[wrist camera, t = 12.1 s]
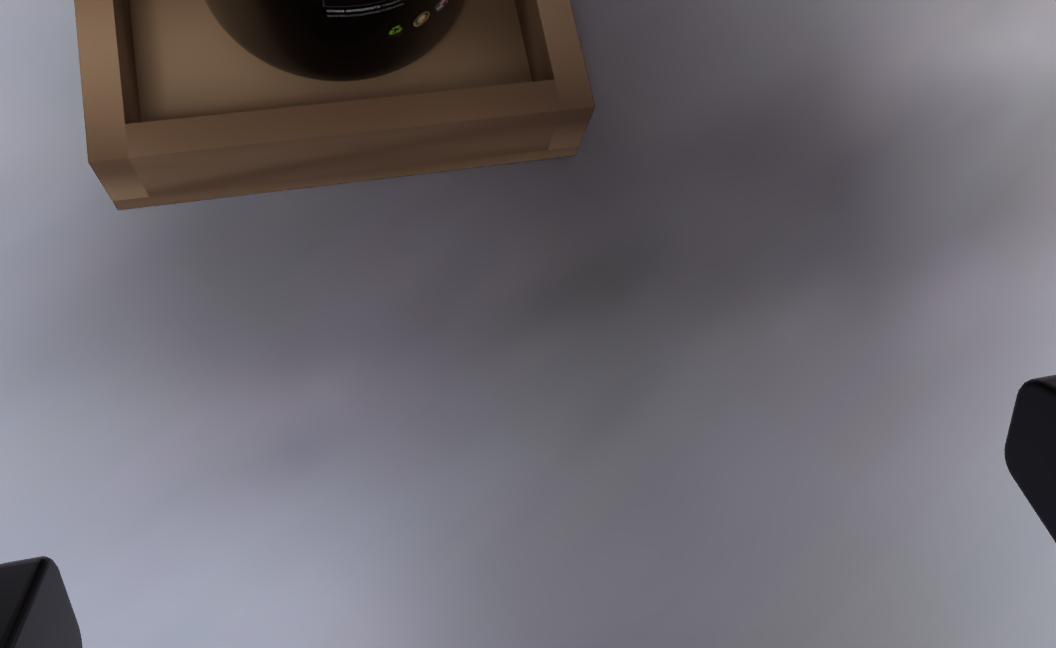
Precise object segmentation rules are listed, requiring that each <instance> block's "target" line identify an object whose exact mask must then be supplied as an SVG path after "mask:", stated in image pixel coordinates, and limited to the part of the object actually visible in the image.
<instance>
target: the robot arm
mask: <svg viewBox="0 0 1056 648" xmlns="http://www.w3.org/2000/svg"><path fill="white" fill-rule="evenodd" d="M1005 460H1006V464H1007V467H1008V469H1009V472H1010V473H1011V475H1012V477H1013V478H1014V480H1015V481H1016V483H1017V484H1018V486H1019V487H1020V489H1021V491H1022V492H1023V494H1024V495H1025V497H1026V498H1027V500H1028V501H1029V503H1030V504H1031V506H1032V507H1033V509H1034V510H1035V512H1036V513H1037V515H1038V516H1039V518H1040V519H1041V521H1042V522H1043V524H1044V525H1045V527H1046V528H1047V530H1048V532H1049V533H1050V535H1051V536H1052V538H1053V539H1054V541H1055V542H1056V375H1052V376H1047V377H1041V378H1036V379H1031V380H1029V381H1027V382H1025V383H1024V384H1023V385H1022V387H1021V388H1020V389H1019V391H1018V394H1017V398H1016V402H1015V406H1014V410H1013V414H1012V418H1011V423H1010V427H1009V431H1008V435H1007V439H1006V444H1005ZM0 648H82V639H81V633H80V629H79V626H78V623H77V620H76V617H75V614H74V611H73V608H72V606H71V603H70V600H69V597H68V594H67V591H66V588H65V586H64V583H63V580H62V577H61V574H60V571H59V569H58V567H57V565H56V564H55V562H54V561H53V560H52V559H50V558H48V557H45V556H41V557H36V558H30V559H25V560H19V561H13V562H8V563H3V564H0Z"/></svg>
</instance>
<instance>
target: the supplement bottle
mask: <svg viewBox="0 0 1056 648" xmlns="http://www.w3.org/2000/svg"><path fill="white" fill-rule="evenodd" d="M205 1H206V3H207V5H208V7H209V9H210V11H211V12H212V14H213V15H214V17H215V18H216V20H217V21H218V23H219V24H220V25H221V26H222V28H223V29H224V30H225V31H226V32H227V33H228V34H229V35H230V36H231V37H232V38H233V39H234V40H235V41H236V42H237V43H238V44H239V45H240V46H241V47H242V48H244V49H245V50H246V51H247V52H249V53H250V54H252V55H253V56H255V57H256V58H258V59H259V60H261V61H263V62H265V63H267V64H269V65H270V66H273V67H275V68H277V69H279V70H282V71H284V72H287V73H290V74H293V75H296V76H301V77H305V78H309V79H315V80H321V81H333V82H349V81H359V80H366V79H371V78H376V77H379V76H383V75H386V74H389V73H392V72H394V71H397V70H400V69H402V68H404V67H406V66H408V65H410V64H412V63H413V62H415V61H417V60H418V59H420V58H421V57H423V56H424V55H425V54H427V53H428V52H429V51H430V50H432V49H433V48H434V47H435V46H436V45H437V44H438V43H439V42H440V41H441V40H442V39H443V37H444V36H445V35H446V34H447V33H448V31H449V30H450V29H451V27H452V26H453V24H454V23H455V21H456V20H457V18H458V16H459V14H460V12H461V10H462V7H463V5H464V2H465V0H205Z"/></svg>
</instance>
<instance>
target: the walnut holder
mask: <svg viewBox="0 0 1056 648" xmlns="http://www.w3.org/2000/svg"><path fill="white" fill-rule="evenodd" d="M74 3H75V15H76V26H77V38H78V49H79V61H80V72H81V84H82V95H83V107H84V118H85V130H86V141H87V153H88V162H89V164H90V166H91V167H92V169H93V171H94V172H95V174H96V175H97V177H98V179H99V180H100V182H101V183H102V185H103V187H104V188H105V190H106V191H107V193H108V195H109V196H110V198H111V200H112V201H113V203H114V204H115V206H116V208H117V209H118V210H122V209H131V208H139V207H147V206H156V205H164V204H173V203H181V202H189V201H198V200H206V199H215V198H223V197H231V196H240V195H248V194H256V193H265V192H273V191H282V190H290V189H298V188H307V187H315V186H323V185H332V184H340V183H349V182H357V181H365V180H374V179H382V178H391V177H399V176H407V175H416V174H424V173H432V172H441V171H449V170H458V169H466V168H474V167H483V166H491V165H500V164H508V163H516V162H525V161H533V160H541V159H550V158H558V157H567V156H575V154H576V152H577V149H578V147H579V144H580V142H581V140H582V137H583V135H584V132H585V130H586V127H587V125H588V122H589V120H590V118H591V115H592V113H593V110H594V108H595V104H594V100H593V96H592V92H591V87H590V83H589V79H588V75H587V71H586V67H585V62H584V58H583V54H582V50H581V46H580V42H579V37H578V33H577V29H576V25H575V21H574V16H573V12H572V8H571V4H570V0H465V2H464V5H463V7H462V10H461V12H460V14H459V16H458V18H457V20H456V21H455V23H454V24H453V26H452V27H451V29H450V30H449V31H448V33H447V34H446V35H445V36H444V37H443V39H442V40H441V41H440V42H439V43H438V44H437V45H436V46H435V47H434V48H433V49H432V50H430V51H429V52H428V53H427V54H425V55H424V56H423V57H421V58H420V59H418V60H417V61H415V62H413V63H412V64H410V65H408V66H406V67H404V68H402V69H400V70H397V71H394V72H392V73H389V74H386V75H383V76H379V77H376V78H371V79H366V80H359V81H349V82H333V81H321V80H315V79H309V78H305V77H301V76H296V75H293V74H290V73H287V72H284V71H282V70H279V69H277V68H275V67H273V66H270V65H269V64H267V63H265V62H263V61H261V60H259V59H258V58H256V57H255V56H253V55H252V54H250V53H249V52H247V51H246V50H245V49H244V48H242V47H241V46H240V45H239V44H238V43H237V42H236V41H235V40H234V39H233V38H232V37H231V36H230V35H229V34H228V33H227V32H226V31H225V30H224V29H223V28H222V26H221V25H220V24H219V23H218V21H217V20H216V18H215V17H214V15H213V14H212V12H211V11H210V9H209V7H208V5H207V3H206V1H205V0H74Z"/></svg>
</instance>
